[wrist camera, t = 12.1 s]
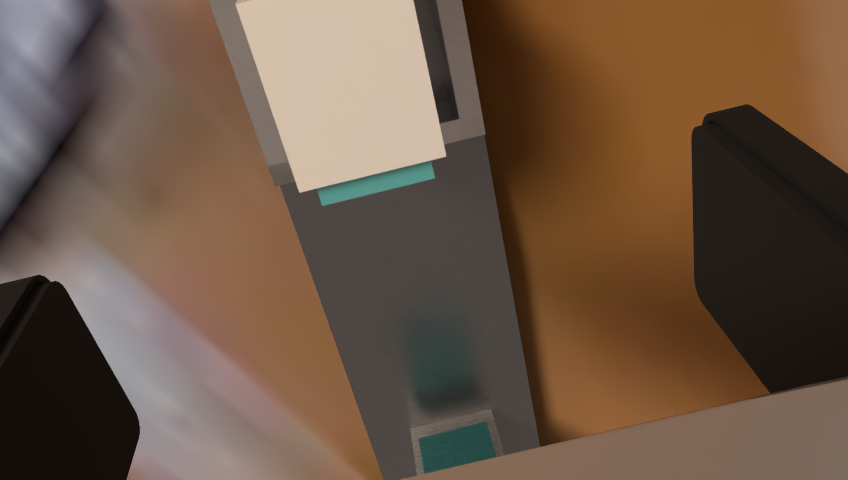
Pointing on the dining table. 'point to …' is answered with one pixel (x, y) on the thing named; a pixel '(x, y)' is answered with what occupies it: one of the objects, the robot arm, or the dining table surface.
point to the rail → (415, 275)
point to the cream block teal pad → (346, 92)
